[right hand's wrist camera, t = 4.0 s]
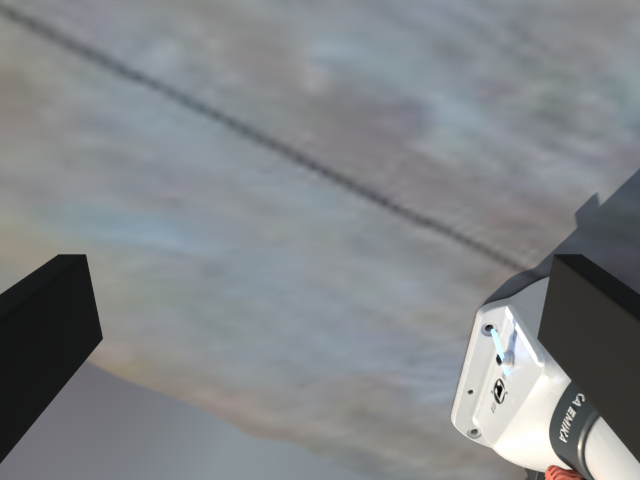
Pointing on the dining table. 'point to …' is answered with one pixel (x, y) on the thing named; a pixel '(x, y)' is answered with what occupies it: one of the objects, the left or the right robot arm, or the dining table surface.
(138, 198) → the dining table surface
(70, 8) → the dining table surface
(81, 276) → the right robot arm
